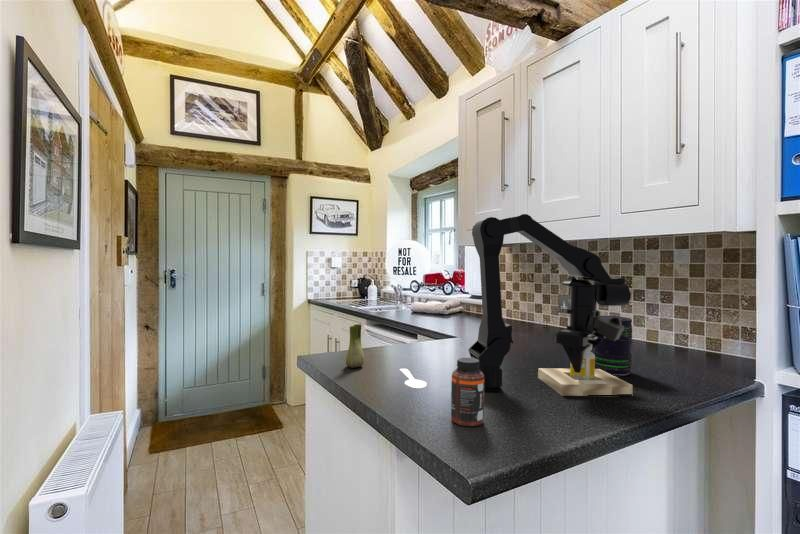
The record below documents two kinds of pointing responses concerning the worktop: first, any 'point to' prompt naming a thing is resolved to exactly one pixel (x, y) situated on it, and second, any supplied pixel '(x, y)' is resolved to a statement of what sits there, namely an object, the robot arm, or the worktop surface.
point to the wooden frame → (583, 383)
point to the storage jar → (615, 350)
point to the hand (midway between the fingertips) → (581, 370)
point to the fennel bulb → (355, 348)
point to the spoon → (413, 380)
